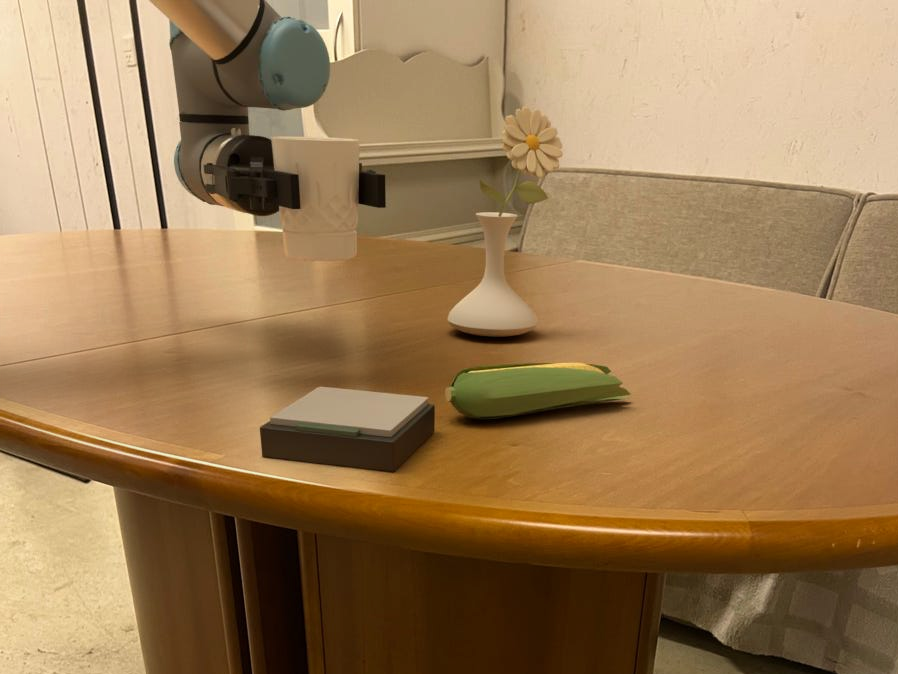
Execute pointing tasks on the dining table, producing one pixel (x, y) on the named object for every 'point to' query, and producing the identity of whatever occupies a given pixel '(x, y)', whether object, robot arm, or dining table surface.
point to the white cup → (320, 196)
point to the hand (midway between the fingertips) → (339, 191)
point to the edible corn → (530, 388)
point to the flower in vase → (493, 299)
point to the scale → (349, 428)
